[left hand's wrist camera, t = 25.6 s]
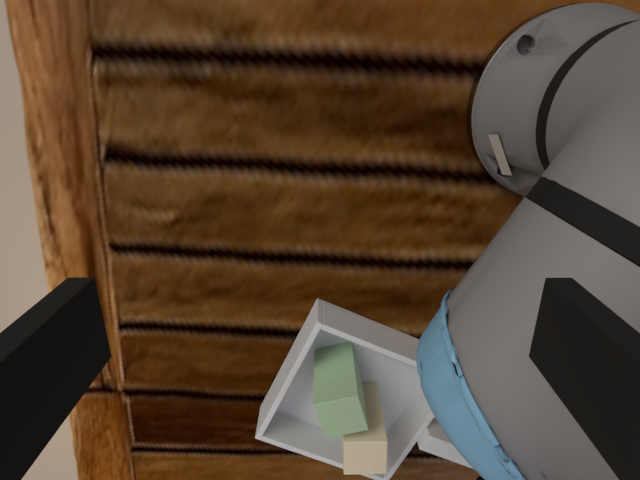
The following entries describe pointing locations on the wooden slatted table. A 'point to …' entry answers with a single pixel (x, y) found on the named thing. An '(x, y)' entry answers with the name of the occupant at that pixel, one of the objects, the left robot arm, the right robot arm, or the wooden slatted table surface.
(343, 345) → the block
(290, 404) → the tray
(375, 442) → the block
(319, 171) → the wooden slatted table surface
